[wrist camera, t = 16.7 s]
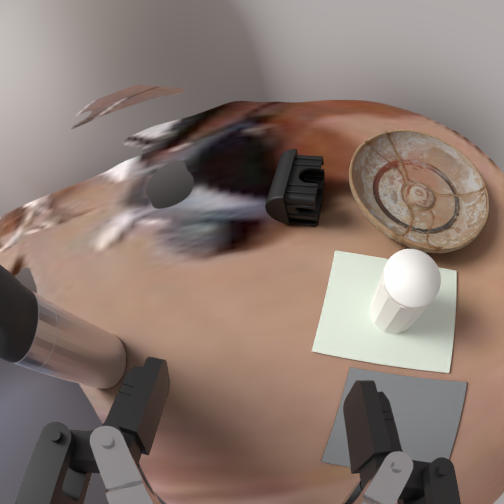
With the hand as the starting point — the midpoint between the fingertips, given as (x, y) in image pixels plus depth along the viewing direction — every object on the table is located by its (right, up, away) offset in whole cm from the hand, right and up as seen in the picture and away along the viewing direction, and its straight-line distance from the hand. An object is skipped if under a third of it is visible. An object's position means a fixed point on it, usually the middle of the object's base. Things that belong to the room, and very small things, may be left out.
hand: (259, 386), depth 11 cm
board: (+17, -2, +22) cm, 28 cm away
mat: (+17, -14, +15) cm, 27 cm away
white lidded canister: (+17, -2, +22) cm, 28 cm away
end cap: (+7, +13, +34) cm, 37 cm away
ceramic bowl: (+26, +14, +29) cm, 41 cm away
